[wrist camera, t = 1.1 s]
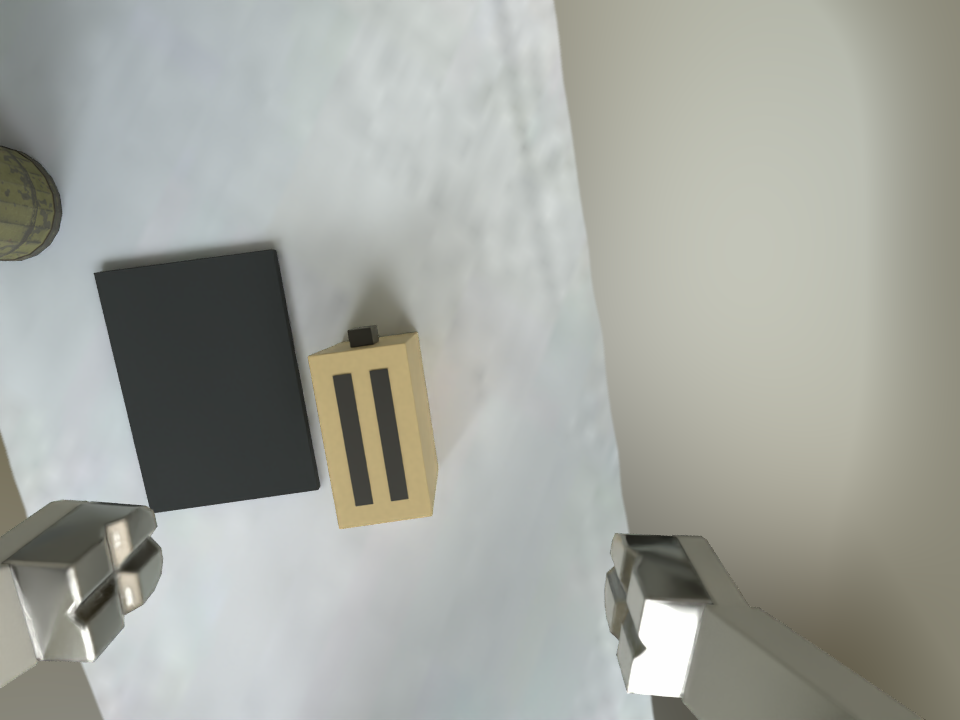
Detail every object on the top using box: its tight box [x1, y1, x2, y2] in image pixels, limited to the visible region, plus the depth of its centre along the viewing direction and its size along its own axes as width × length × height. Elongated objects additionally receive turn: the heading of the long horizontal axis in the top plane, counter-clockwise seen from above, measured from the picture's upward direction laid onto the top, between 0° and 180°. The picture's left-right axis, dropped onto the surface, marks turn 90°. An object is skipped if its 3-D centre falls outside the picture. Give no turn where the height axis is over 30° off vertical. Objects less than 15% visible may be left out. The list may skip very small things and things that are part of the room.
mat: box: [94, 250, 320, 513], centre depth 41 cm, size 20×14×1 cm
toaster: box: [308, 325, 438, 529], centre depth 37 cm, size 13×6×9 cm, turn 8°
